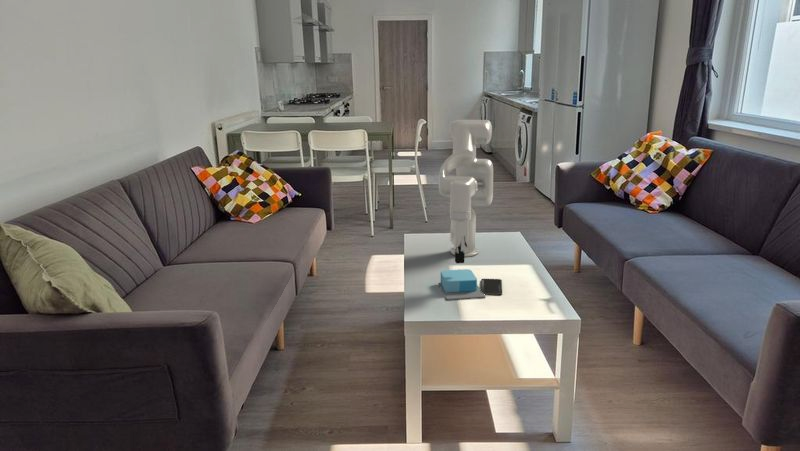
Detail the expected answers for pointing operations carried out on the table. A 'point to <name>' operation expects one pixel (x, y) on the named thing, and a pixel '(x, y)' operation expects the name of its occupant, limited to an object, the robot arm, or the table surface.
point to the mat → (462, 294)
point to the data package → (458, 280)
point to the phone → (491, 287)
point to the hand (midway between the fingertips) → (459, 262)
